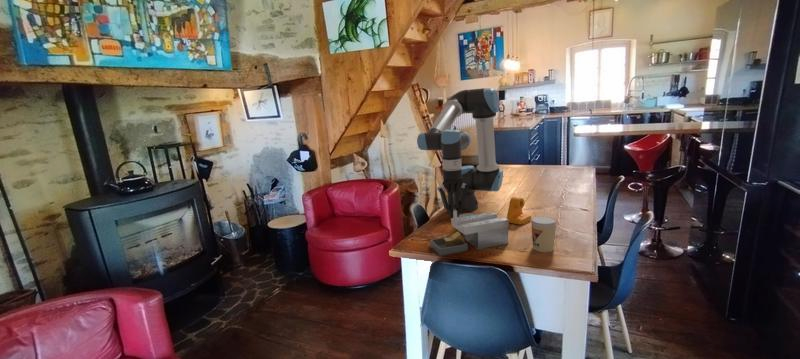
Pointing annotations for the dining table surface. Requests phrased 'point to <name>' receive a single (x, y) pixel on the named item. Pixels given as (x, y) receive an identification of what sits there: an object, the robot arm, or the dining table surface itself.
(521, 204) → the bracket
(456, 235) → the tan cube
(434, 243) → the tray
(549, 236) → the coffee cup
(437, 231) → the dining table surface
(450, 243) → the chip
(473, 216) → the rail block
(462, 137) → the robot arm
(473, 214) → the bowl
